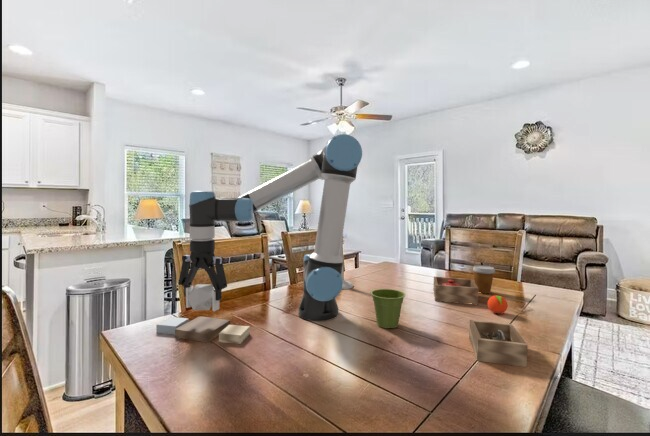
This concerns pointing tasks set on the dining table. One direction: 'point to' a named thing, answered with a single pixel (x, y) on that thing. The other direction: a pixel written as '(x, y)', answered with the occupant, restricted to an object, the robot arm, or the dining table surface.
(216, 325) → the walnut block
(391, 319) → the plant pot
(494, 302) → the clementine
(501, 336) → the eagle figurine
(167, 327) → the grey block
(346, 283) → the candlestick
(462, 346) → the dining table surface
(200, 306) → the die
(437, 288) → the wooden box
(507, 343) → the tray
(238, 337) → the oak block
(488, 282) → the disposable coffee cup
